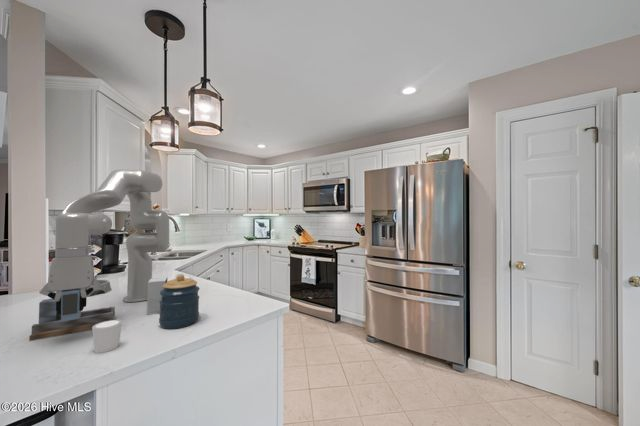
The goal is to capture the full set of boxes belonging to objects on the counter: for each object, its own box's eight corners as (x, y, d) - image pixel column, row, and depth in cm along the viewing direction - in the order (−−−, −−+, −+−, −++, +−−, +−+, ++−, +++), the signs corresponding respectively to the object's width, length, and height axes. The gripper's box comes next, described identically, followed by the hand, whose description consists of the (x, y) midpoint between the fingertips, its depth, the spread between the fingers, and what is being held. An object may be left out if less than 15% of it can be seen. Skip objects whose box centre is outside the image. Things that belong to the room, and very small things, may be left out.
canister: (156, 332, 85) (158, 279, 86) (160, 319, 97) (161, 272, 97) (199, 325, 91) (200, 276, 92) (198, 313, 103) (199, 269, 103)
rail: (114, 315, 100) (115, 288, 100) (112, 325, 90) (113, 296, 91) (41, 327, 88) (42, 297, 89) (29, 341, 79) (30, 306, 79)
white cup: (103, 342, 78) (104, 319, 78) (126, 341, 79) (127, 319, 79) (84, 354, 71) (85, 329, 71) (110, 353, 72) (111, 328, 72)
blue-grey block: (64, 317, 80) (64, 288, 80) (81, 314, 83) (81, 286, 83) (60, 322, 76) (60, 292, 76) (78, 319, 79) (78, 290, 79)
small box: (164, 312, 104) (165, 280, 104) (146, 315, 101) (147, 282, 101) (167, 306, 111) (167, 276, 111) (149, 308, 108) (150, 277, 108)
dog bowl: (118, 290, 136) (118, 280, 136) (74, 300, 119) (74, 289, 119) (101, 287, 143) (101, 277, 143) (56, 296, 126) (57, 285, 126)
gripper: (108, 249, 88) (107, 302, 88) (37, 253, 78) (36, 313, 78) (105, 252, 82) (105, 309, 82) (28, 257, 72) (27, 321, 72)
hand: (71, 310), depth 80 cm, fingers closed on blue-grey block, 4 cm apart
